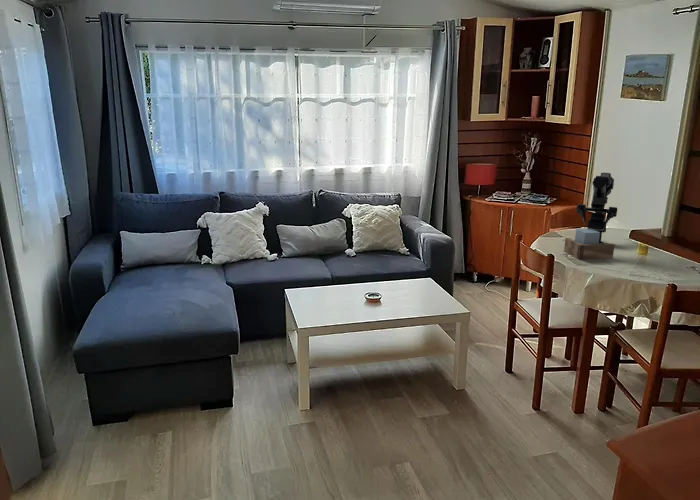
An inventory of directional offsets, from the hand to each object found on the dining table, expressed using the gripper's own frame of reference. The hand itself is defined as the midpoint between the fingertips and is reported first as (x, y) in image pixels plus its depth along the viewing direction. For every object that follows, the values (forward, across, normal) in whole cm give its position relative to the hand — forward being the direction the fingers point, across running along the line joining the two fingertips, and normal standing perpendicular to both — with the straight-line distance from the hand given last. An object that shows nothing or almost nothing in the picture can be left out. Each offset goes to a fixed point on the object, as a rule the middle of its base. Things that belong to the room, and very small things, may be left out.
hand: (594, 225), depth 282 cm
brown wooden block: (+15, -1, +4) cm, 15 cm away
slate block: (+14, -3, +5) cm, 15 cm away
